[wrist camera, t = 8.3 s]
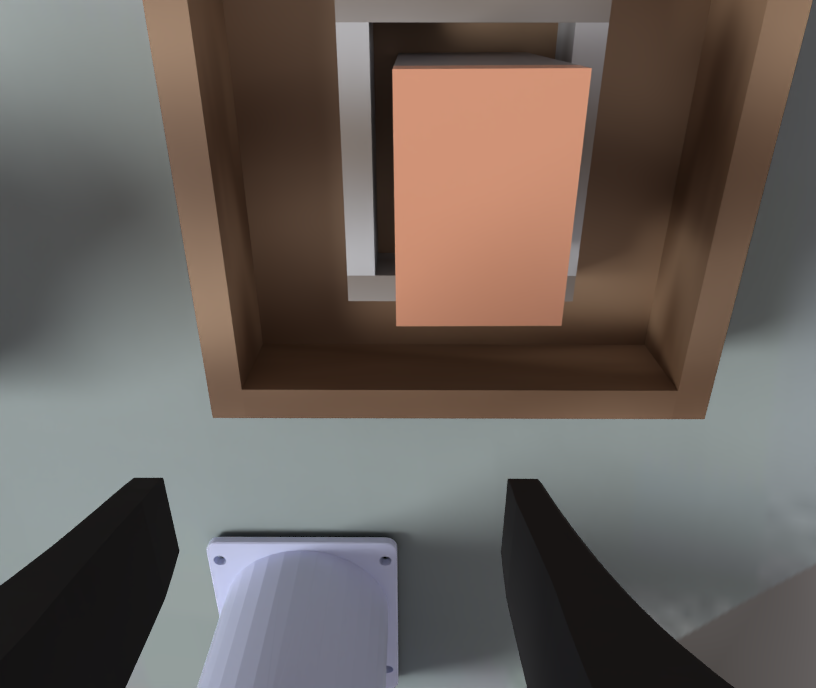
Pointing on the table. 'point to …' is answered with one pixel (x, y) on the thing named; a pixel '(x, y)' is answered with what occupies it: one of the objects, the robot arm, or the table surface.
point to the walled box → (375, 218)
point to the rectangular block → (485, 186)
